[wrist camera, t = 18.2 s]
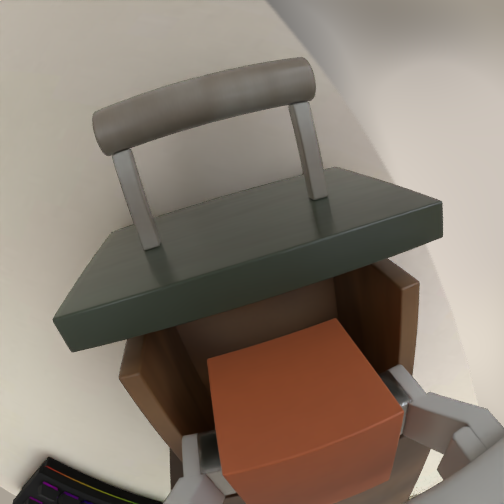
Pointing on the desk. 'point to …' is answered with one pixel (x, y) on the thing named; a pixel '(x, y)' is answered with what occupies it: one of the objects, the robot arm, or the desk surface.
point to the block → (303, 418)
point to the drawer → (242, 253)
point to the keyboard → (72, 488)
